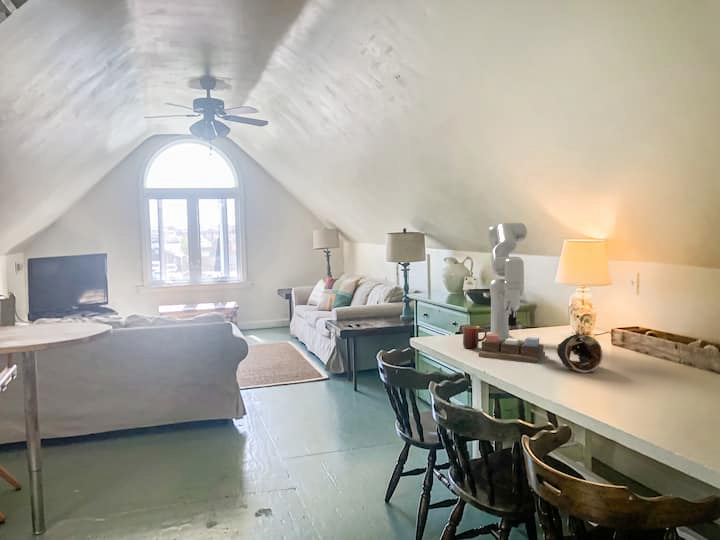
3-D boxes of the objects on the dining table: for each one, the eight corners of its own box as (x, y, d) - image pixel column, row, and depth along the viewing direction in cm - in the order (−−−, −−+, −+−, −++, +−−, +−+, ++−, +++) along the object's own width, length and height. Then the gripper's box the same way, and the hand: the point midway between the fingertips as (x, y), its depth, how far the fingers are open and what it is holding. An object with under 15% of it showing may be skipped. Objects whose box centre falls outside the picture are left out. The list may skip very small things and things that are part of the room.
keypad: (489, 349, 265) (489, 337, 264) (545, 355, 251) (545, 342, 251) (478, 356, 251) (478, 343, 250) (537, 363, 238) (537, 349, 237)
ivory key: (508, 346, 254) (508, 338, 254) (519, 347, 252) (519, 339, 251) (505, 348, 250) (505, 340, 250) (516, 349, 247) (516, 341, 247)
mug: (462, 349, 266) (462, 328, 265) (460, 345, 274) (461, 325, 274) (487, 350, 265) (487, 328, 264) (485, 346, 273) (485, 325, 273)
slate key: (527, 345, 250) (528, 337, 249) (539, 347, 247) (539, 338, 247) (525, 347, 245) (525, 338, 245) (536, 349, 243) (536, 340, 242)
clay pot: (580, 332, 246) (600, 331, 221) (586, 367, 244) (607, 370, 219) (546, 336, 246) (562, 336, 222) (552, 370, 244) (569, 374, 220)
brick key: (489, 341, 259) (489, 333, 258) (499, 343, 256) (499, 334, 256) (485, 343, 254) (485, 335, 254) (496, 344, 252) (496, 336, 252)
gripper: (509, 283, 257) (508, 322, 259) (500, 287, 244) (499, 327, 246) (525, 284, 253) (524, 323, 255) (517, 288, 241) (516, 329, 243)
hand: (512, 325), depth 251 cm, fingers closed
